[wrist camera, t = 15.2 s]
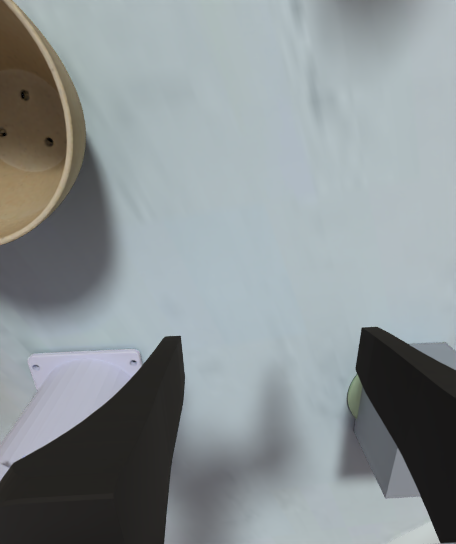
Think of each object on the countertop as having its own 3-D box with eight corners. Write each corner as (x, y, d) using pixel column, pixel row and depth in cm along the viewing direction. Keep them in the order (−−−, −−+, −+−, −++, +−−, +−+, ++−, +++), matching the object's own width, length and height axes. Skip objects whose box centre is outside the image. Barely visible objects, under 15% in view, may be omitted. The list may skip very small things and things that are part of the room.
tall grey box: (422, 427, 28) (469, 493, 23) (353, 431, 28) (385, 498, 23) (445, 342, 24) (507, 397, 19) (367, 346, 24) (408, 402, 19)
